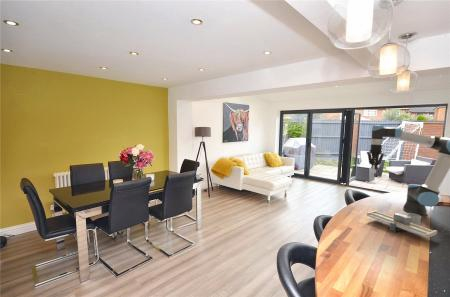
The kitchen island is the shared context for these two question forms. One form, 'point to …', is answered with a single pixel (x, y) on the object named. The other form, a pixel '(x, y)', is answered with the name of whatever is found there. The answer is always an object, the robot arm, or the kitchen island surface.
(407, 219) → the block
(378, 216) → the beam
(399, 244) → the kitchen island surface
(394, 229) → the fulcrum
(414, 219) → the cup
